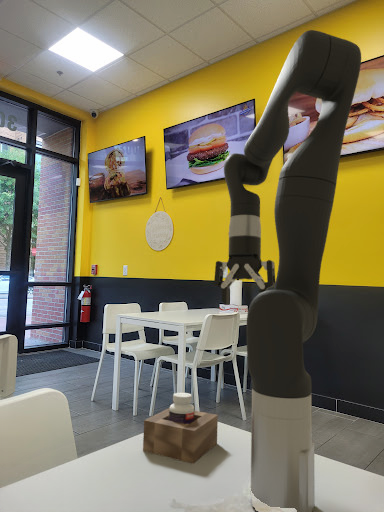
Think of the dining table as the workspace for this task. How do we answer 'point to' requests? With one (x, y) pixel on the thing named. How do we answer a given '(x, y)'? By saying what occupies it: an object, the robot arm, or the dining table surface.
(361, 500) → the dining table surface
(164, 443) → the socket block
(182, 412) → the pill bottle
